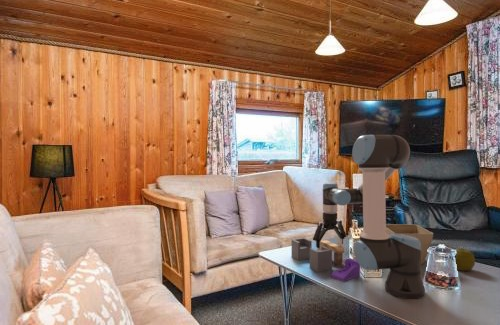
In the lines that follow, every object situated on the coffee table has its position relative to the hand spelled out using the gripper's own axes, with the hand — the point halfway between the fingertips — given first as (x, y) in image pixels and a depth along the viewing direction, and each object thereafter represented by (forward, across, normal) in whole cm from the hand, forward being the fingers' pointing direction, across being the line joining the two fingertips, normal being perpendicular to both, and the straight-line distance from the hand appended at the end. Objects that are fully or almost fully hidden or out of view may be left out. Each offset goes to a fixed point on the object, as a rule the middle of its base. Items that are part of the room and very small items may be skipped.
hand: (329, 252), depth 181 cm
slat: (-2, 0, 0) cm, 2 cm away
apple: (+4, -49, +39) cm, 63 cm away
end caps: (+4, +12, 0) cm, 13 cm away
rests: (+4, 0, 0) cm, 4 cm away
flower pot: (+4, -35, +18) cm, 40 cm away
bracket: (+4, +7, +22) cm, 23 cm away
